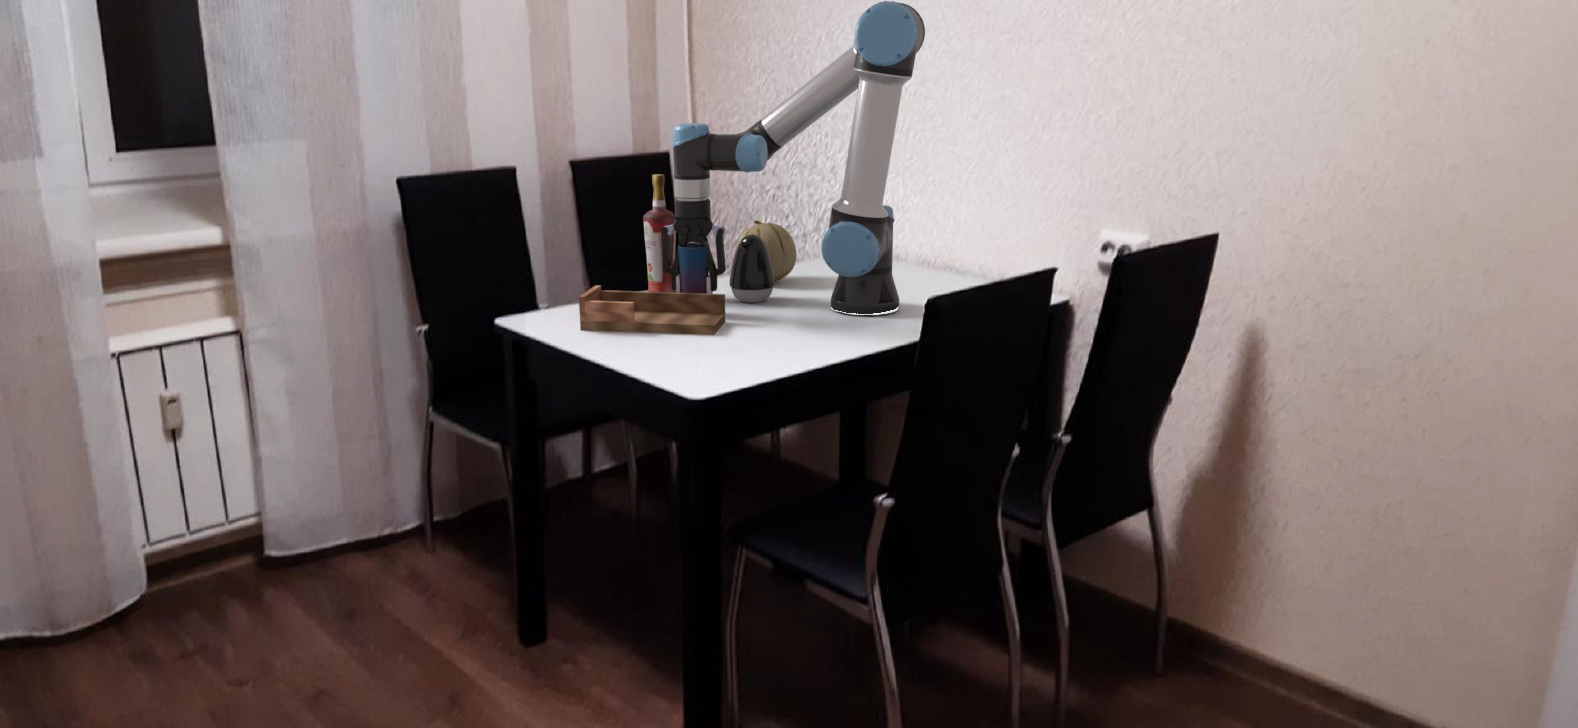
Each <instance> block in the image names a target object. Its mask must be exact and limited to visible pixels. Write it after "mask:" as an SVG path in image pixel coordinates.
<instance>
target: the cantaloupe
mask: <svg viewBox="0 0 1578 728" xmlns="http://www.w3.org/2000/svg"><path fill="white" fill-rule="evenodd" d="M753 223H754V225H753V226H750V227H748V228H747V229H745V230H744V232H743V233H742V234H741V236H740V237H739V239H738V241H737V246H738V244H739V242H740V241H741V239H742V238H743V237H745V236H746V235H750V234H754V235H757V236H759V237H760V238H761V239H762V240H763V242H764V243H765V245H766V247H767V250H768V252H769V256H770V259H771V263H772V267H773V272H774V280H775V282H776V283H777V282H778V281H780V280H782V279H784V278H785V277H787V276H788V275H789V274H790V273H791V272H792V271H793V269H794V267H795V265H796V261H797V248H796V242H795V240H794V239H793V237H792V236H791V235H792V234H790V233H789V232H788V230H787V229H786V228H785V227H783V226H781V225H779V224H778V223H777V224H776V223H773V222H772V223H771V222H766V223H764V222H761V221H760V220H754V222H753ZM737 246H736V247H737Z"/></svg>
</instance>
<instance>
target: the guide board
mask: <svg viewBox="0 0 1578 728" xmlns="http://www.w3.org/2000/svg"><path fill="white" fill-rule="evenodd" d="M578 307H579V323H580V324H579V325H580V331H591V332H592V331H594V332H595V331H596V332H620V333H622V332H623V333H645V334H647V333H649V334H651V333H652V334H673V335H699V336H700V335H701V336H715V335H716V334H717V333H718V332H719V330H720V329H721V328H722V327H723V326H724V325H725V323H726V294H724V293H713V294H703V293H673V292H647V291H640V290H639V291H637V290H611V289H610V290H609V289H608V290H607V289H604V290H602V285H598V284H597V285H594V286H592V287H591V288H589V289H588V290H586V291H585V292H584V293H582V294H580V295H579V296H578Z"/></svg>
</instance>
